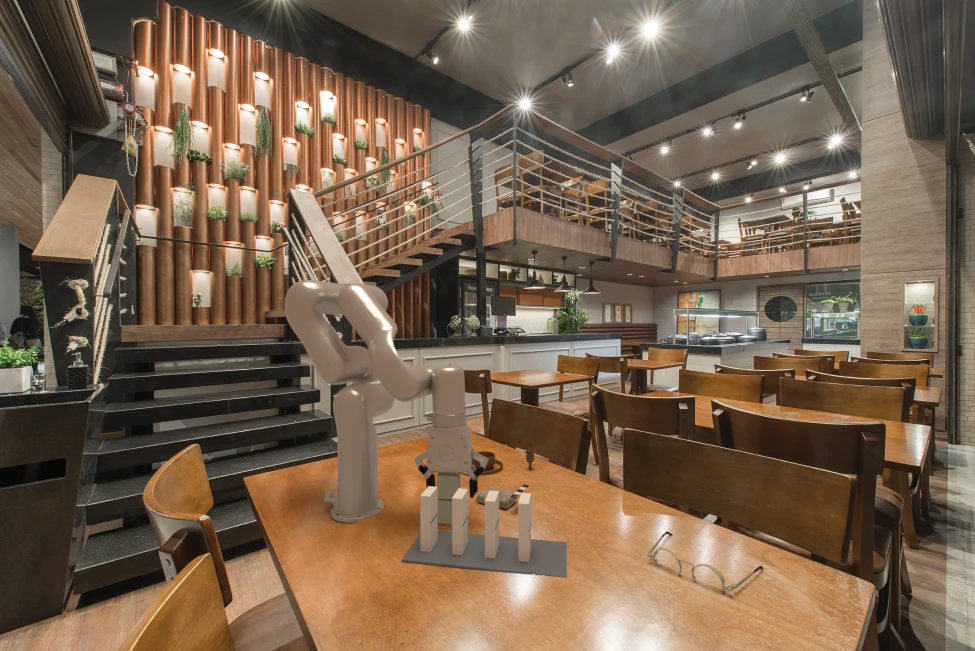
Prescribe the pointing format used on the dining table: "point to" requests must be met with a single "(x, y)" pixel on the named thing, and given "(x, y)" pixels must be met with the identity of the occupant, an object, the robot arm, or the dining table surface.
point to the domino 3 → (491, 524)
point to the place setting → (497, 462)
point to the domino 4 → (524, 527)
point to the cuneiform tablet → (502, 496)
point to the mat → (542, 561)
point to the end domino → (446, 495)
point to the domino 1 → (429, 518)
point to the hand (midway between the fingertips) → (452, 494)
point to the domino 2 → (459, 521)
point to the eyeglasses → (698, 565)
